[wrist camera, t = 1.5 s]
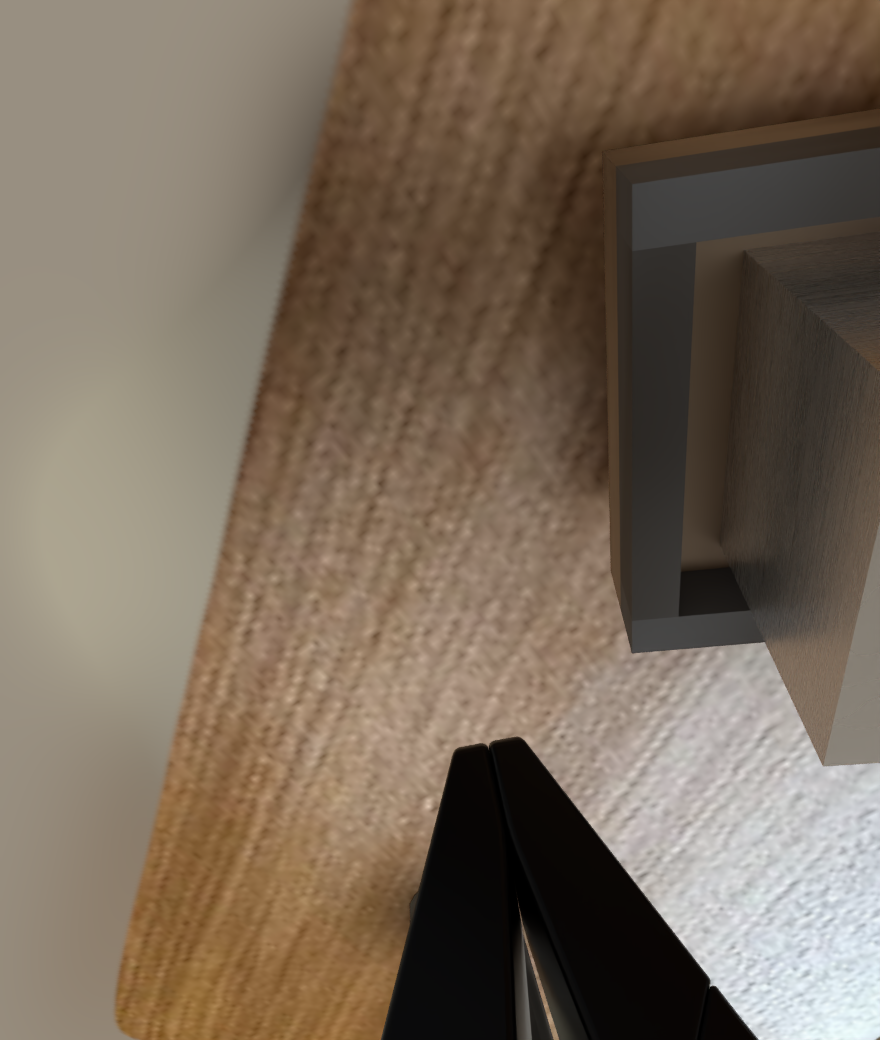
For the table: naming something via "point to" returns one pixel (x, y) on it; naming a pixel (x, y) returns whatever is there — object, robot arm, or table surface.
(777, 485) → the steel rider
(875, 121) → the grey tray
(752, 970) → the table surface
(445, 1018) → the robot arm
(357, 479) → the table surface
